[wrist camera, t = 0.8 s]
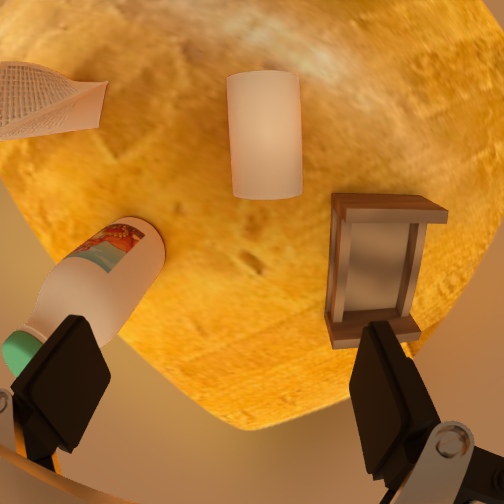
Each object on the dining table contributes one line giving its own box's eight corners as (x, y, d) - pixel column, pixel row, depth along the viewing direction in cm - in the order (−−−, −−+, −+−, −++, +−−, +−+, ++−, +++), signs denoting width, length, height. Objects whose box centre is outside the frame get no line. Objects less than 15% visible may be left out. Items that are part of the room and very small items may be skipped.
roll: (233, 82, 24) (218, 70, 19) (297, 79, 23) (300, 66, 18) (239, 188, 28) (226, 203, 23) (301, 187, 27) (304, 202, 22)
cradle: (331, 193, 28) (346, 208, 22) (420, 195, 27) (448, 210, 22) (324, 316, 33) (332, 349, 28) (401, 311, 32) (418, 340, 27)
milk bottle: (179, 240, 30) (81, 382, 12) (150, 290, 33) (68, 427, 15) (120, 201, 29) (-20, 297, 11) (98, 255, 32) (-12, 365, 13)
